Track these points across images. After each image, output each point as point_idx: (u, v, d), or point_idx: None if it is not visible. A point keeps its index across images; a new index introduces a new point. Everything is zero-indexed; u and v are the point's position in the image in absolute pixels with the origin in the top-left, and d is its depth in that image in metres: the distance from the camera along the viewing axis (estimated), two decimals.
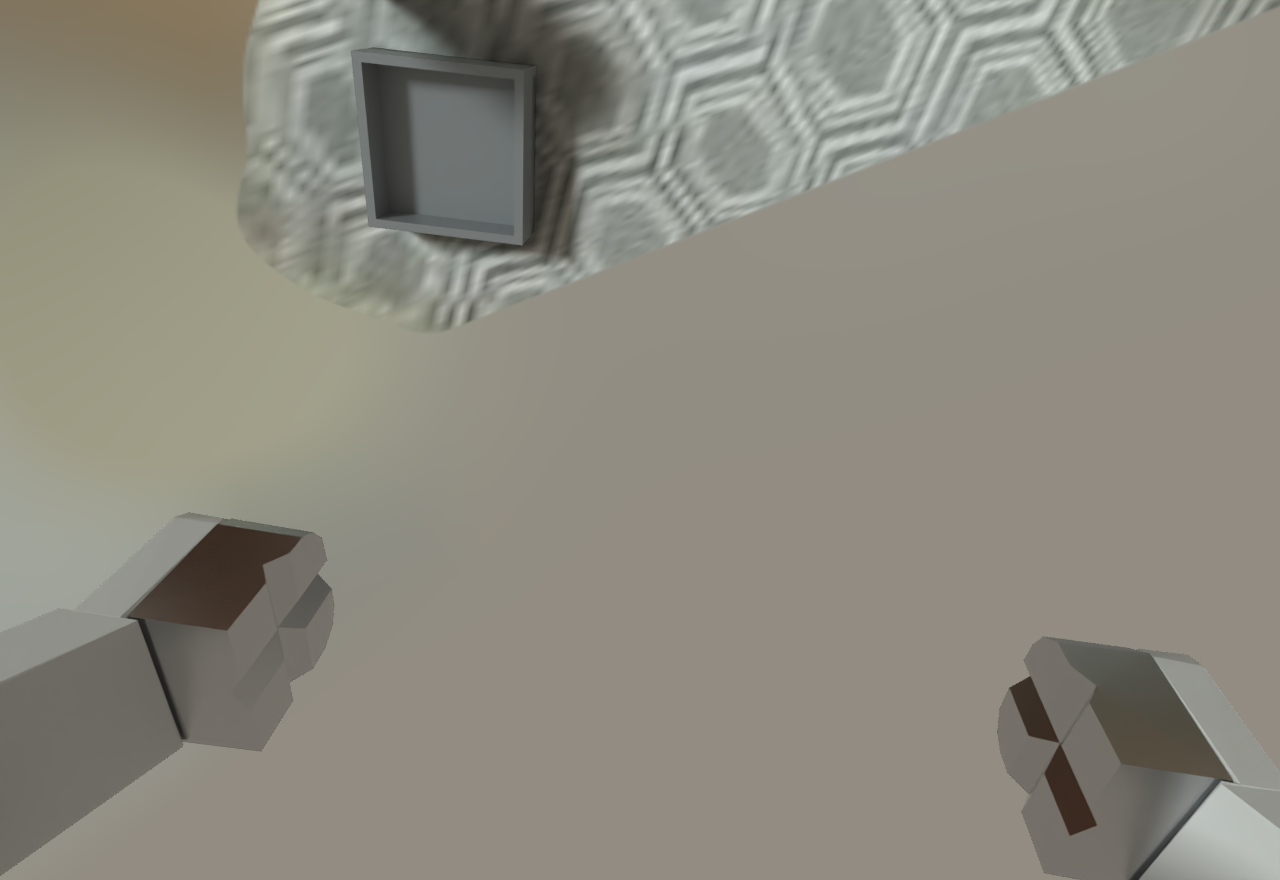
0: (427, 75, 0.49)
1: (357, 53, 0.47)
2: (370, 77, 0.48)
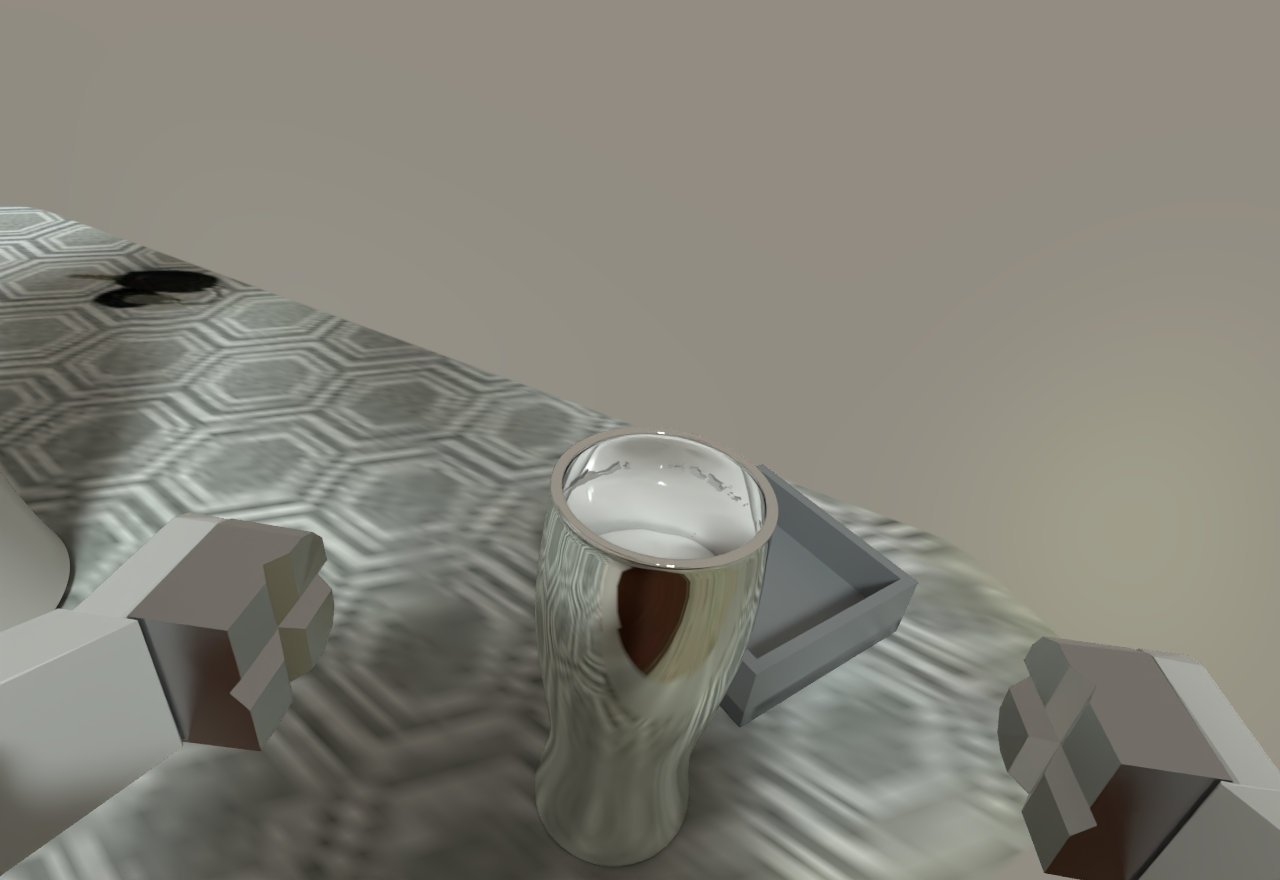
0: None
1: (751, 666, 0.31)
2: None
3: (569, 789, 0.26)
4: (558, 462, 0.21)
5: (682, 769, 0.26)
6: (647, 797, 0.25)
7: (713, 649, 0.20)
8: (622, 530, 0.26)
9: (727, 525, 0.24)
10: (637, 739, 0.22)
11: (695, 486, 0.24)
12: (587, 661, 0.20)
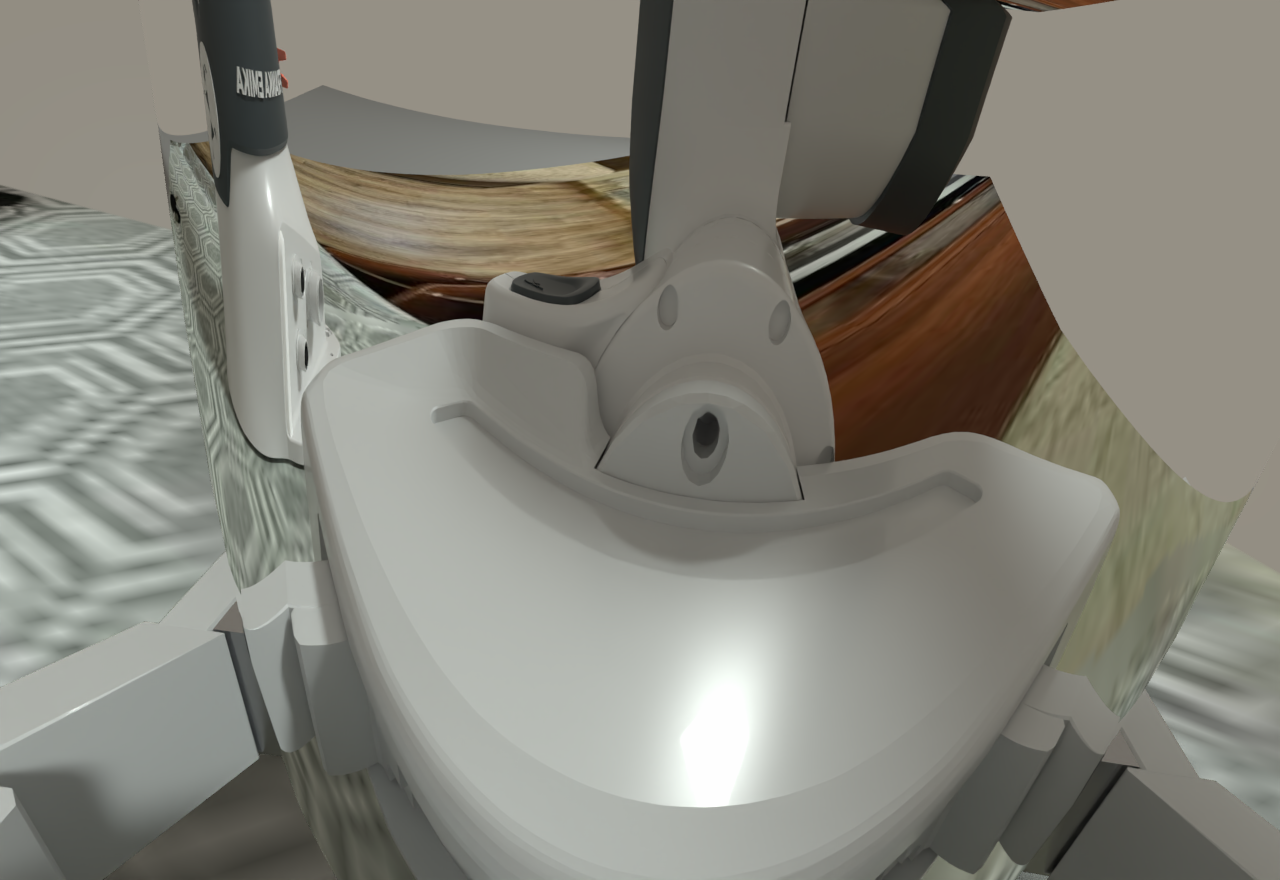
0: None
1: None
2: None
3: None
4: None
5: None
6: None
7: (1104, 723, 0.04)
8: None
9: None
10: None
11: None
12: (412, 833, 0.04)
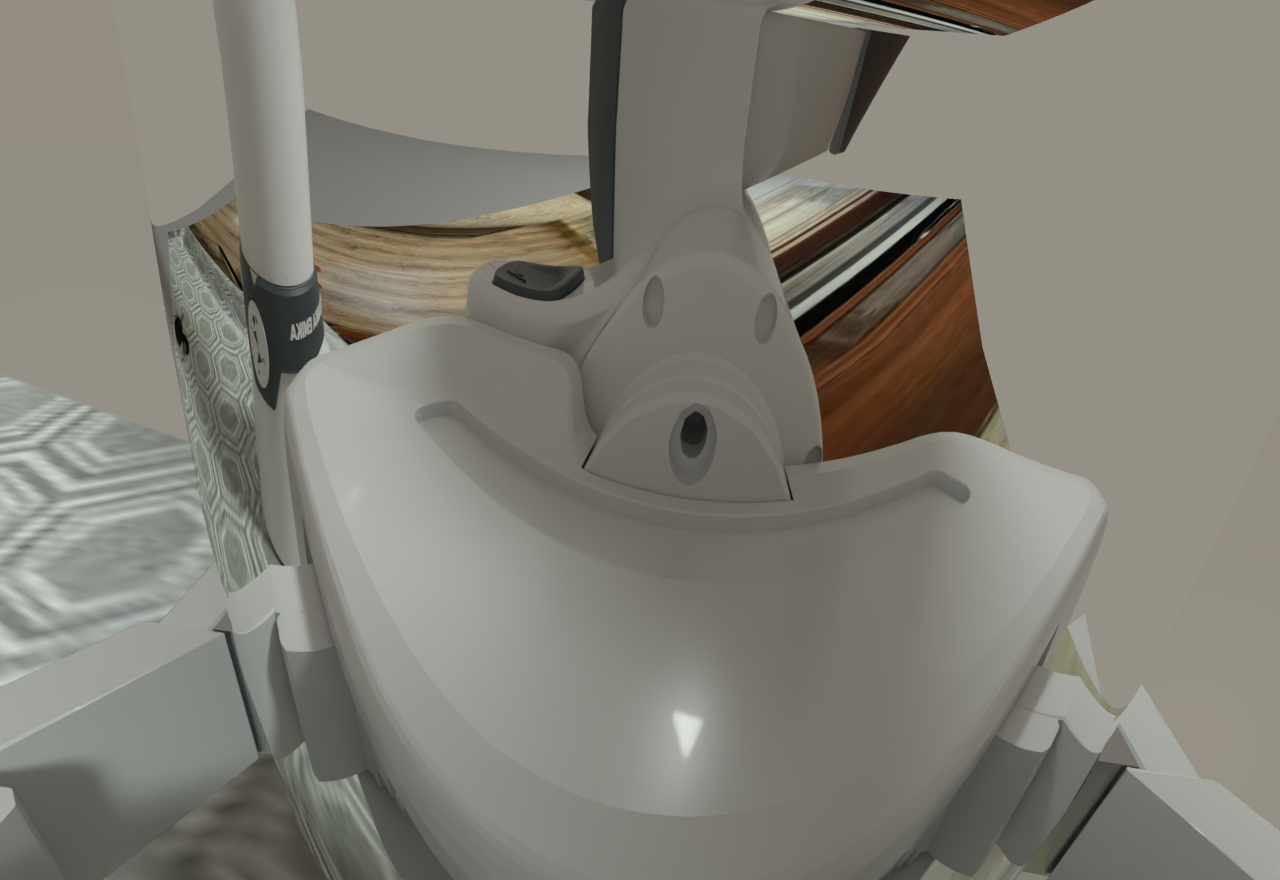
0: None
1: None
2: None
3: None
4: None
5: None
6: None
7: (1090, 732, 0.04)
8: None
9: None
10: None
11: None
12: (400, 846, 0.04)
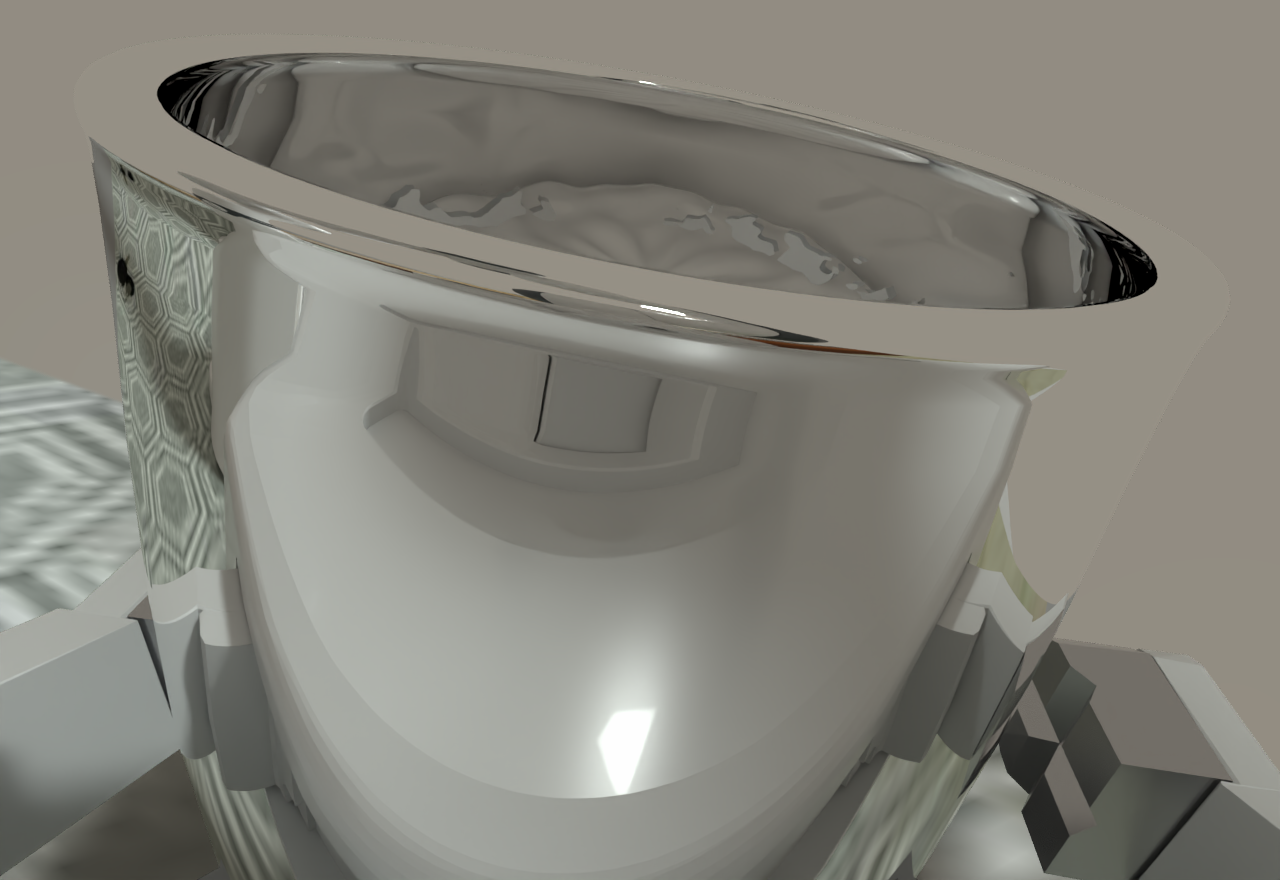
0: None
1: None
2: None
3: None
4: (232, 35, 0.05)
5: None
6: None
7: (903, 847, 0.04)
8: None
9: None
10: None
11: (741, 281, 0.08)
12: None
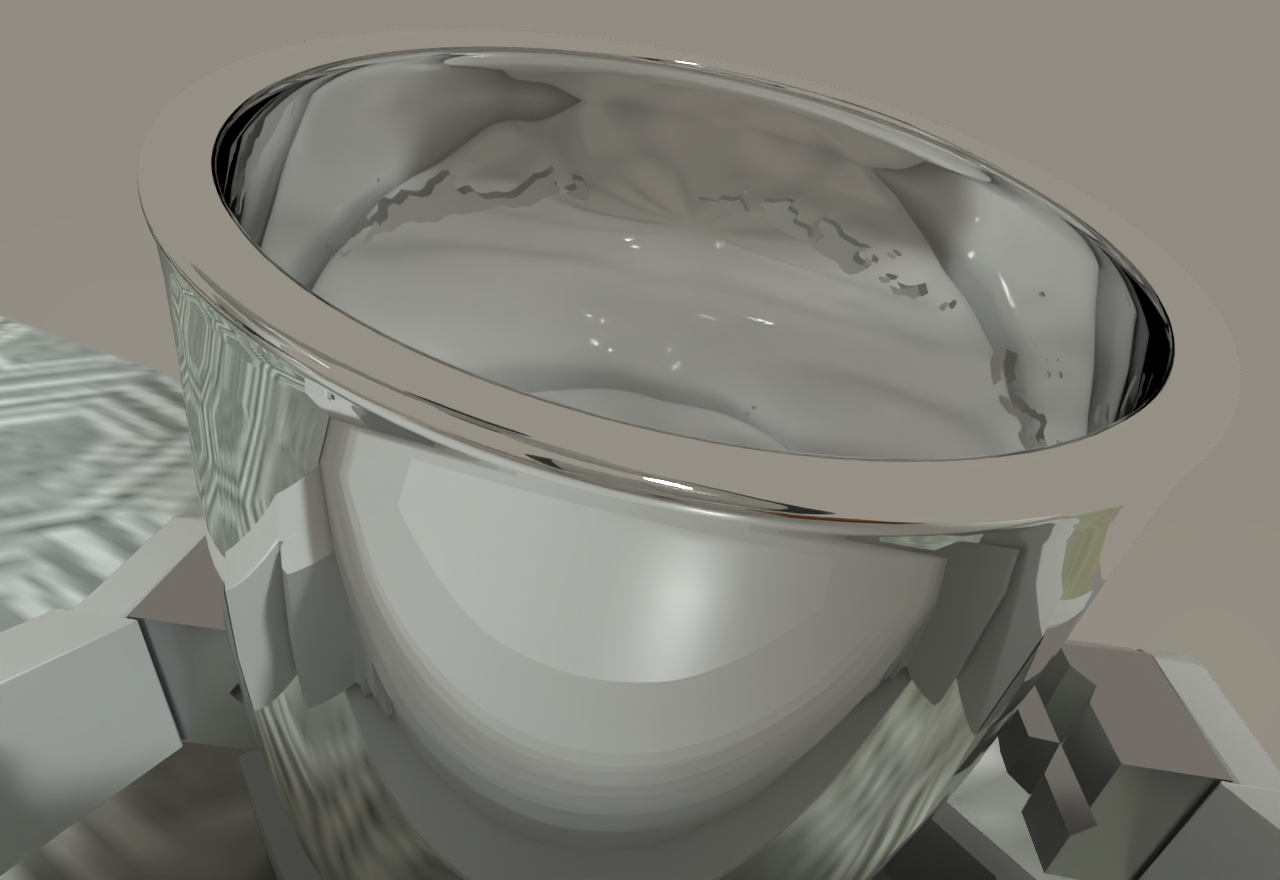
0: None
1: None
2: None
3: None
4: (272, 50, 0.05)
5: None
6: None
7: None
8: (565, 390, 0.10)
9: (860, 379, 0.08)
10: None
11: (774, 263, 0.08)
12: (356, 865, 0.05)
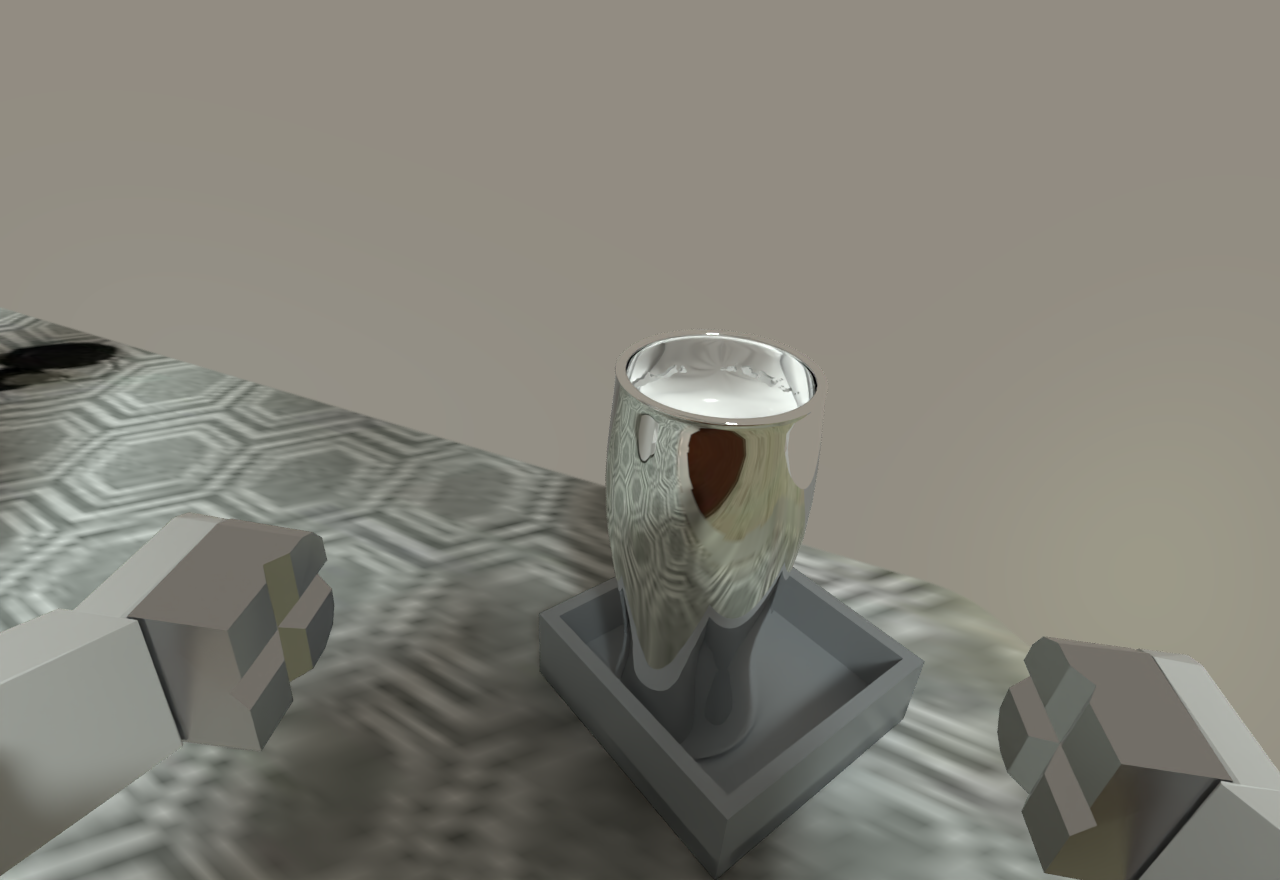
0: None
1: (721, 807, 0.24)
2: None
3: (645, 682, 0.27)
4: (620, 355, 0.23)
5: (751, 659, 0.27)
6: (720, 685, 0.26)
7: (775, 513, 0.22)
8: None
9: None
10: (708, 613, 0.24)
11: (747, 385, 0.26)
12: (658, 532, 0.22)
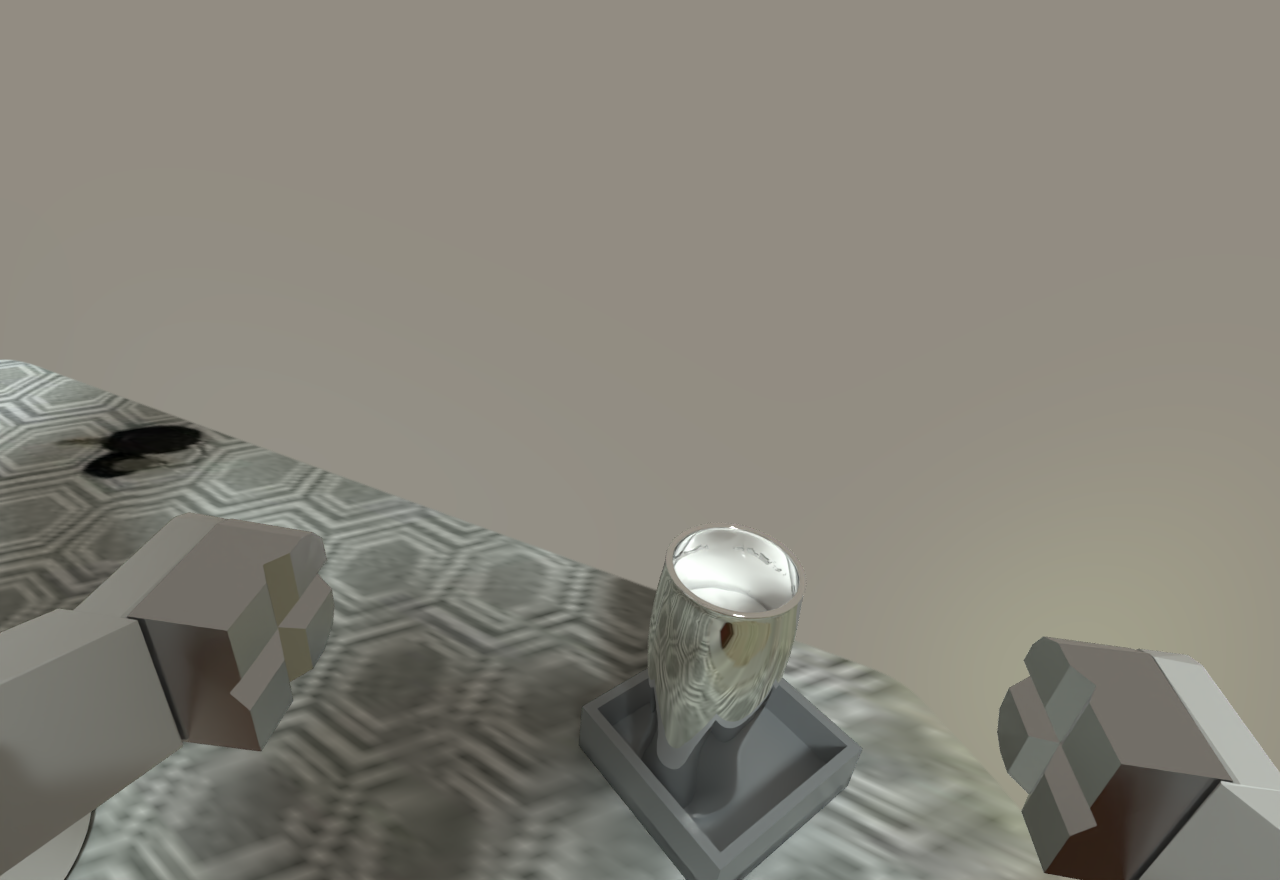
0: None
1: (716, 861, 0.35)
2: None
3: (664, 763, 0.38)
4: (668, 548, 0.34)
5: (740, 751, 0.38)
6: (717, 768, 0.37)
7: (766, 667, 0.33)
8: (700, 588, 0.38)
9: (771, 586, 0.37)
10: (716, 725, 0.35)
11: (750, 560, 0.37)
12: (688, 673, 0.33)
